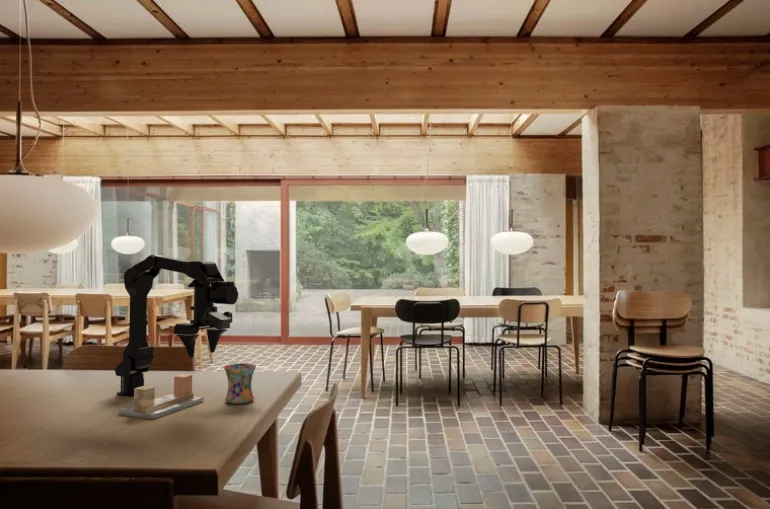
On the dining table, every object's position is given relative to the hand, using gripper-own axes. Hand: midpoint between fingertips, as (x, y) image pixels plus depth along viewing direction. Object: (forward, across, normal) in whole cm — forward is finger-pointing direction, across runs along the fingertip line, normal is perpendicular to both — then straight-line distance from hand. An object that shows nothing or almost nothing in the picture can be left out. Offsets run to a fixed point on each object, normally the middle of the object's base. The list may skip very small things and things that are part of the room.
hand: (202, 354), depth 158 cm
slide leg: (+12, -1, +6) cm, 14 cm away
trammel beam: (+13, -9, +5) cm, 17 cm away
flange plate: (+14, -10, +6) cm, 18 cm away
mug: (+14, +6, -10) cm, 18 cm away
